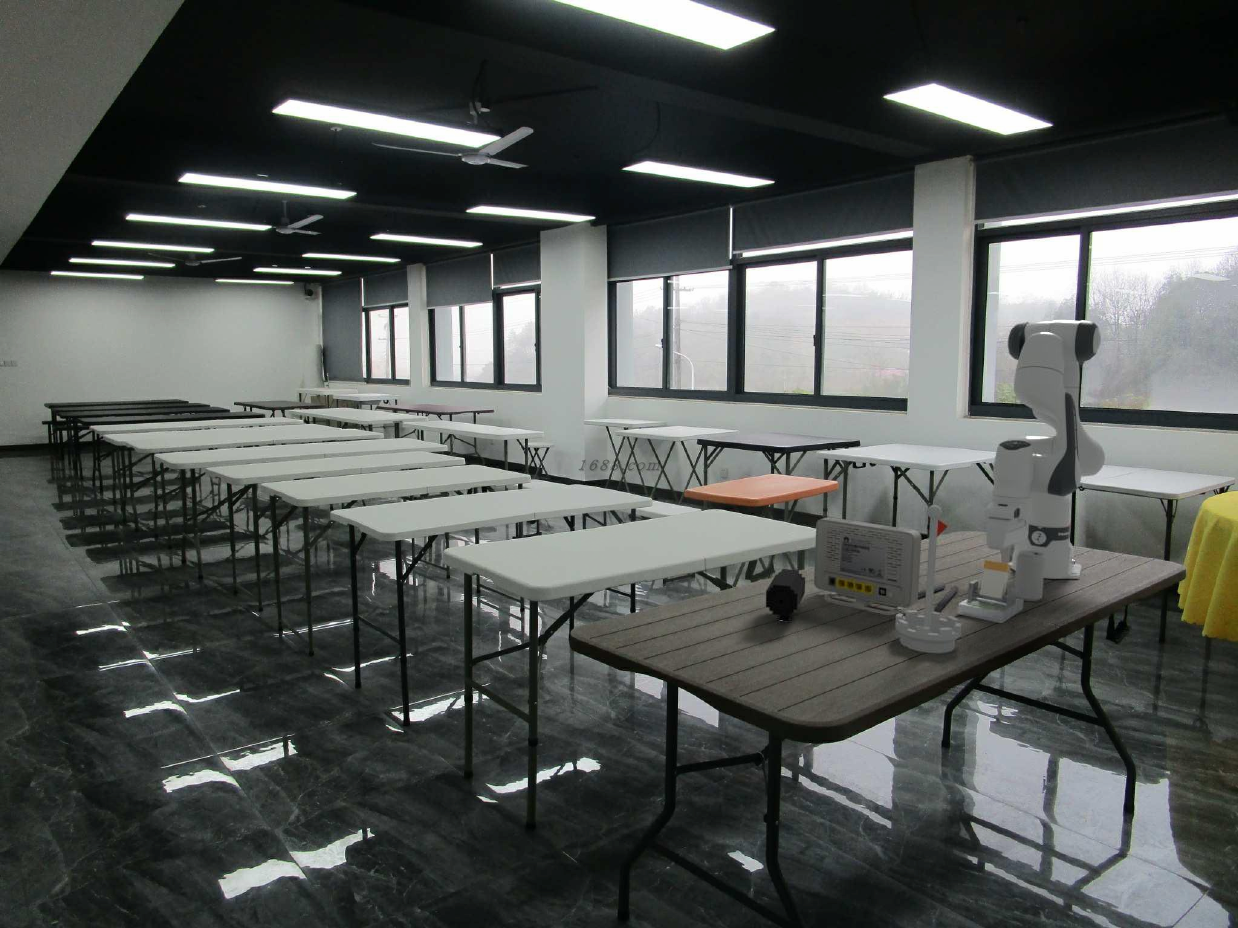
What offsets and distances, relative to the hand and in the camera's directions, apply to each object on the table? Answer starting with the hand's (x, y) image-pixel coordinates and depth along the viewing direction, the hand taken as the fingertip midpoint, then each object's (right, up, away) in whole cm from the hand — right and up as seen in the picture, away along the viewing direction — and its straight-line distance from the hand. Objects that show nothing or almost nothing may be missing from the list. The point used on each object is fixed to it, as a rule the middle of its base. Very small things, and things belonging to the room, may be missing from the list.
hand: (1006, 562), depth 202 cm
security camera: (-57, -12, -11) cm, 59 cm away
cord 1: (-17, -9, +8) cm, 21 cm away
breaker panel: (-6, -11, -5) cm, 14 cm away
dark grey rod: (-14, -10, +3) cm, 17 cm away
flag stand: (-30, -14, -28) cm, 44 cm away
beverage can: (+8, -10, +6) cm, 14 cm away
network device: (-36, -11, 0) cm, 37 cm away
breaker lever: (-6, -8, -6) cm, 11 cm away
